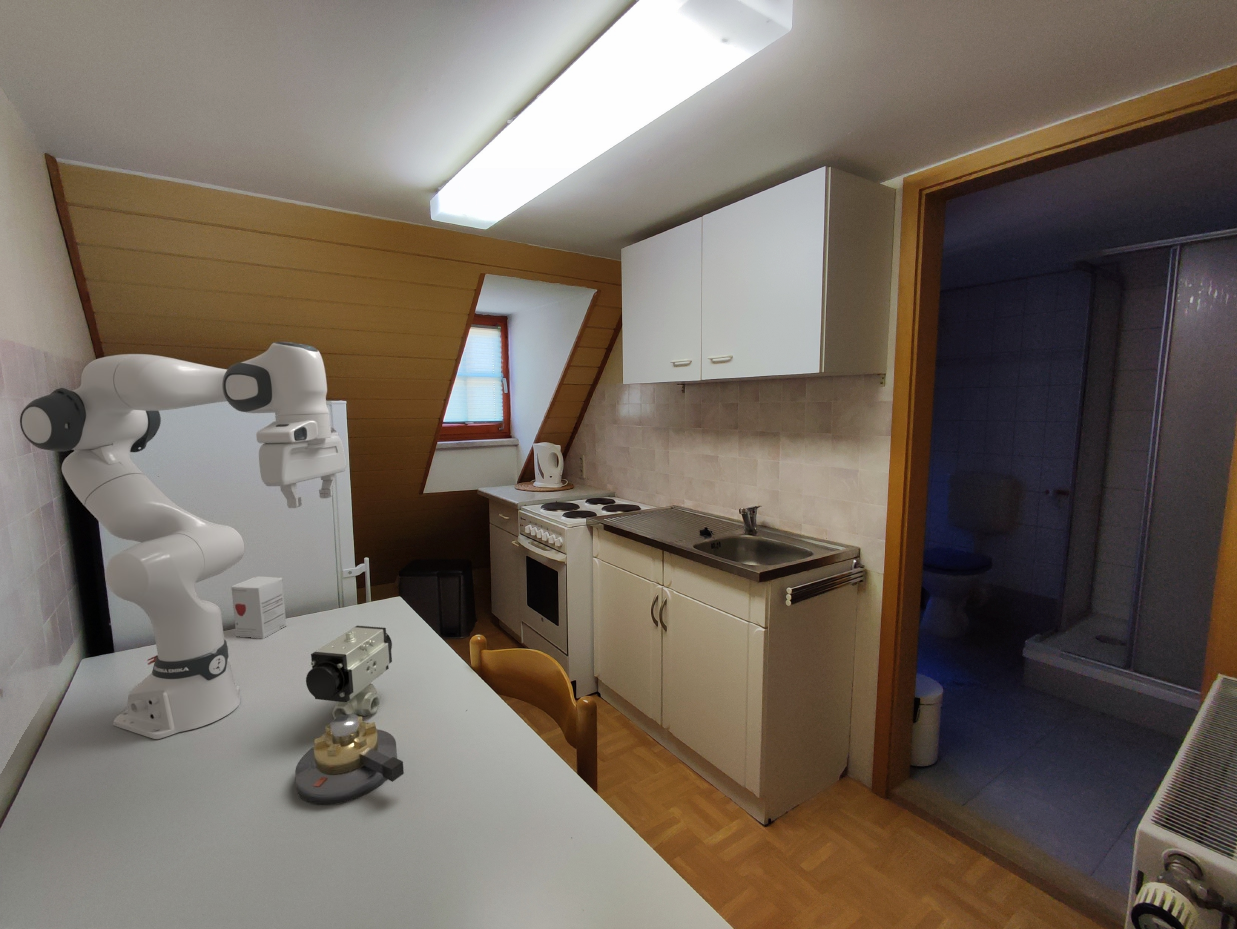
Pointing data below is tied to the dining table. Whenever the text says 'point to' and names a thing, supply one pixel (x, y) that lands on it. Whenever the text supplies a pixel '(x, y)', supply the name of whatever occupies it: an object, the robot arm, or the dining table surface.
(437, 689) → the dining table surface
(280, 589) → the supplement box
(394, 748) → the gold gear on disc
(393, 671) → the dining table surface
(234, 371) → the robot arm
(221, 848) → the dining table surface
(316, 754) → the lever handle valve
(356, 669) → the ball valve
